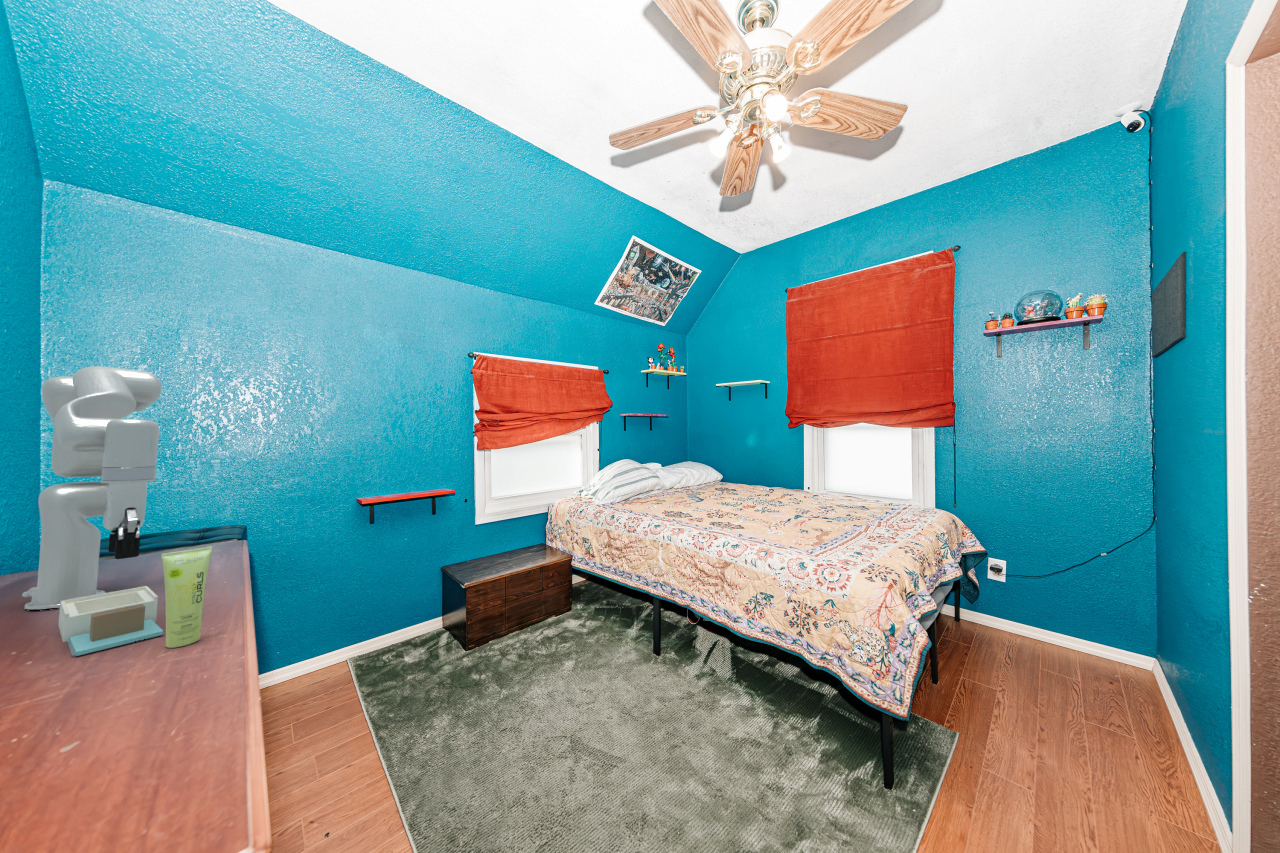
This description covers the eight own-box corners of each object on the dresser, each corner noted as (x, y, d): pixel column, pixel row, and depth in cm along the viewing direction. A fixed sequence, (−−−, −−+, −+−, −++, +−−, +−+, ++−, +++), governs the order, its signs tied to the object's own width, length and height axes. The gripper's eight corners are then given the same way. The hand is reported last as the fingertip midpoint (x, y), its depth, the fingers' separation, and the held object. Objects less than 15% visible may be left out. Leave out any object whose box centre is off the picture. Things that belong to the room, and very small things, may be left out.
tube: (182, 649, 86) (189, 552, 87) (154, 650, 85) (161, 553, 86) (207, 637, 91) (212, 546, 92) (180, 638, 90) (186, 546, 92)
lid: (68, 640, 88) (71, 612, 89) (151, 622, 98) (152, 597, 98) (76, 656, 82) (78, 625, 82) (163, 634, 92) (165, 607, 92)
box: (58, 626, 96) (60, 600, 96) (145, 608, 107) (146, 585, 107) (62, 642, 88) (65, 614, 89) (156, 621, 99) (157, 596, 99)
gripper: (96, 474, 93) (90, 552, 93) (107, 478, 84) (100, 564, 83) (148, 473, 100) (142, 545, 99) (163, 476, 90) (157, 556, 89)
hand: (123, 554), depth 91 cm, fingers open, 9 cm apart
